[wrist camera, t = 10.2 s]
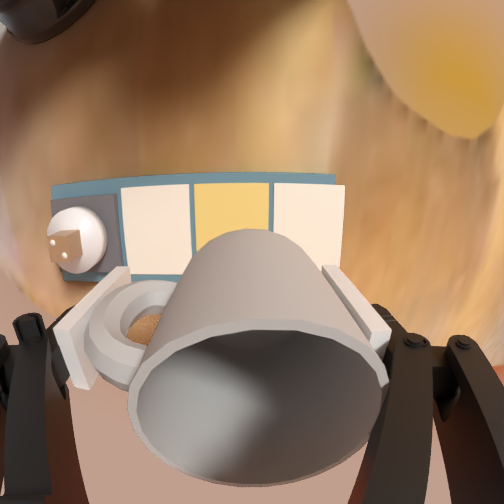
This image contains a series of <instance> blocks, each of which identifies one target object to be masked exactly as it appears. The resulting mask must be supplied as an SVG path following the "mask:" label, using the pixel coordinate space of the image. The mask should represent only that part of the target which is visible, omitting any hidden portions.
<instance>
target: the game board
mask: <svg viewBox="0 0 504 504" xmlns="http://www.w3.org/2000/svg"><path fill="white" fill-rule="evenodd" d="M51 187H52V200H51V208H52V218H53V217H54V216H55V215H56V214H57V213H58V212H60V211H62V210H65V209H68V208H71V207H75V206H84V207H87V208H89V209H91V210H93V211H94V212H95V213H96V214H97V215H98V216H99V217H100V219H101V220H102V222H103V224H104V226H105V229H106V233H107V248H106V251H105V254H104V256H103V257H102V259H101V260H100V261H99V262H98V263H97V264H95V265H94V266H93V267H92V268H90V269H89V270H88V271H86V272H83V273H79V274H75V273H70V272H68V271H66V270H64V269H62V268H61V267H60V271H61V272H62V273H63V278H64V281H90V282H100V281H101V280H103V279H104V278H105V277H106V276H107V275H108V274H109V273H110V272H111V271H112V270H113V269H114V268H116V267H117V266H129V267H130V274H131V281H132V282H137V281H144V280H164V281H171V282H177V283H178V281H179V279H180V278H181V276H182V274H183V272H184V271H185V269H186V267H187V265H188V264H189V262H190V260H191V258H192V257H193V256H194V254H195V253H196V252H198V251H199V250H200V249H201V248H202V247H203V246H204V245H205V244H206V243H207V242H209V241H210V240H212V239H214V238H216V237H218V236H220V235H222V234H224V233H226V232H231V231H236V230H241V229H265V230H268V231H271V232H274V233H277V234H280V235H283V236H285V237H287V238H288V239H290V240H291V241H293V242H294V243H296V244H297V245H299V246H300V247H301V248H302V249H303V250H304V251H305V252H306V254H307V255H308V256H309V257H310V258H311V260H312V261H313V262H314V263H315V264H316V266H317V267H318V269H319V270H320V271H321V270H322V265H336V266H337V267H338V268H339V266H340V255H341V243H342V231H343V216H344V197H345V185H335V175H333V174H314V173H283V172H218V173H186V174H166V175H150V176H136V177H124V178H113V179H103V180H94V181H85V182H77V183H69V184H61V185H55V186H51Z"/></svg>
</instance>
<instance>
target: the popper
mask: <svg viewBox="0 0 504 504" xmlns="http://www.w3.org/2000/svg"><path fill="white" fill-rule="evenodd" d="M47 243H48V248H49V252H50V258H51V262H56V263H57V264H58V265H59V266H60V267H61V268H62V269H64V270H66V271H68V272H70V273H75V274H79V273H83V272H86V271H88V270H89V269H90V268H92V267H93V266H94V265H95V264H97V263H98V262H99V261H100V260H101V259H102V257H103V256H104V254H105V251H106V248H107V233H106V229H105V226H104V224H103V222H102V220H101V219H100V217H99V216H98V215H97V214H96V213H95V212H94V211H93V210H91V209H89V208H87V207H84V206H75V207H71V208H68V209H65V210H62V211H60V212H58V213H57V214H56V215H55V216H54V217H53V218H52V220H51V222H50V224H49V227H48V231H47Z"/></svg>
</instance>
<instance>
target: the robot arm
mask: <svg viewBox="0 0 504 504" xmlns="http://www.w3.org/2000/svg"><path fill="white" fill-rule="evenodd" d="M94 1H95V0H0V21H1V22H2V23H3V24H4V25H5V26H6V28H7V31H8V32H9V34H10V35H11V36H12V37H13V38H15V39H16V40H19V41H21V42H23V43H26V44H37V43H41V42H44V41H46V40H48V39H51V38H53V37H54V36H56V35H58V34H59V33H61V32H62V31H64V30H65V29H67V28H68V27H69V26H71V25H72V24H73V23H74V22H75V21H76V20H78V19H79V18H80V17H81V16H82V15H83V14H84V13H85V12H86V11H87V10H88V8H89V7H90V6H91V5H92V4H93V3H94ZM321 273H322V274H323V276H324V277H325V278H326V280H327V281H328V283H329V284H330V286H331V287H332V288H333V290H334V291H335V293H336V294H337V296H338V297H339V298H340V300H341V301H342V303H343V304H344V306H345V307H346V309H347V310H348V311H349V313H350V314H351V316H352V317H353V319H354V320H355V322H356V323H357V325H358V326H359V328H360V329H361V331H362V332H363V334H364V335H365V337H366V338H367V340H368V341H369V343H370V344H371V346H372V347H373V349H374V350H375V352H376V353H377V355H378V356H379V358H380V359H381V361H382V363H383V364H384V366H385V369H386V372H387V376H388V379H389V383H390V386H389V389H388V391H387V394H386V397H385V400H384V402H383V405H382V407H381V410H380V413H379V415H378V417H377V420H376V422H375V425H374V427H373V429H372V432H371V434H370V437H369V440H368V444H367V448H366V451H365V454H364V458H363V461H362V464H361V467H360V470H359V474H358V476H357V479H356V482H355V485H354V488H353V491H352V494H351V496H350V499H349V501H348V504H424V501H425V496H426V489H427V482H428V475H429V466H430V456H431V443H432V425H433V423H432V422H433V419H434V422H435V426H436V430H437V434H438V438H439V442H440V446H441V450H442V455H443V459H444V464H445V469H446V474H447V479H448V484H449V490H450V496H451V502H452V504H504V386H503V384H502V383H501V381H500V380H499V378H498V376H497V374H496V373H495V371H494V369H493V368H492V366H491V364H490V363H489V361H488V360H487V358H486V356H485V355H484V353H483V352H482V350H481V349H480V347H479V346H478V344H477V343H476V342H475V341H474V340H473V339H471V338H470V337H468V336H465V335H454V336H452V337H450V338H449V340H448V343H447V346H446V347H442V346H431V345H430V342H429V341H428V340H427V339H426V338H425V337H423V336H421V335H419V334H415V333H407V332H406V330H405V329H404V328H403V327H402V326H401V325H400V324H399V323H398V321H397V320H396V319H395V318H394V317H393V316H391V314H390V313H389V311H388V310H387V309H386V308H384V307H382V306H380V305H378V304H370V303H369V302H368V301H367V300H366V299H365V297H364V296H363V295H362V294H361V293H360V292H359V291H358V289H357V288H356V287H355V286H354V285H353V284H352V282H351V281H350V280H349V279H348V278H347V277H346V276H345V275H344V273H343V272H342V271H341V270H340V269H339V268H338V267H337V266H336V265H322V270H321ZM131 282H132V281H131V274H130V267H129V266H117V267H116V268H114V269H113V270H112V271H111V272H110V273H109V274H108V275H107V276H106V277H105V278H104V279H103V280H101V281H100V282H99V283H98V284H97V285H96V286H95V287H94V288H93V289H92V290H91V291H90V292H89V293H88V294H87V295H86V296H85V297H84V298H83V299H82V300H81V301H79V302H78V303H77V304H76V305H74V306H72V307H70V308H69V309H67V310H65V311H64V312H63V313H62V314H61V315H60V317H58V318H57V319H56V321H54V322H53V323H52V324H51V325H50V326H49V327H48V328H47V329H45V326H44V322H43V319H42V316H41V315H40V314H39V313H28V314H24V315H21V316H19V317H18V318H16V319H15V320H14V322H13V326H14V329H15V332H16V335H17V338H18V340H19V345H8V343H7V341H6V338H5V336H3V335H1V334H0V493H1V488H2V482H3V478H4V485H5V493H4V495H3V496H0V504H89V502H88V498H87V494H86V490H85V486H84V482H83V479H82V474H81V470H80V465H79V460H78V455H77V450H76V444H75V438H74V431H73V424H72V417H71V409H70V398H69V390H68V387H67V385H66V381H67V379H68V378H69V376H70V378H71V380H72V383H73V385H74V387H76V388H81V389H85V390H91V388H92V386H93V385H94V383H95V381H96V379H97V377H98V376H99V373H98V371H97V370H96V369H95V367H94V366H93V364H92V362H91V361H90V359H89V358H88V356H87V354H86V353H85V351H84V332H85V330H86V327H87V324H88V322H89V319H90V317H91V315H92V313H93V311H94V309H95V307H96V306H97V305H98V303H99V302H100V301H101V300H102V299H103V298H104V297H105V296H106V295H107V294H109V293H110V292H112V291H113V290H115V289H116V288H118V287H121V286H123V285H126V284H129V283H131Z"/></svg>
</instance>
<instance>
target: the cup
mask: <svg viewBox="0 0 504 504" xmlns="http://www.w3.org/2000/svg"><path fill="white" fill-rule="evenodd" d="M150 314H162V316H161V318H160V320H159V322H158V325H157V327H156V329H155V332H154V334H153V337H152V338H151V340H150V342H149V344H148V346H147V345H143V344H139V343H136V342H132V341H131V340H129V339H127V332H128V330H129V328H130V327H131V326H132V325H133V324H134V323H135V322H136V321H137V320H139V319H141V318H142V317H144V316H147V315H150ZM84 351H85V353H86V354H87V356H88V358H89V359H90V361H91V362H92V364H93V366H94V367H95V369H96V370H97V371H98V373H99V374H100V375H101V376H102V378H103V379H105V380H106V381H108V382H109V383H111V384H113V385H114V386H116V387H118V388H119V389H121V390H124V391H128V392H129V394H128V404H127V410H128V413H129V417H130V420H131V423H132V426H133V429H134V431H135V432H136V434H137V435H138V437H139V438H140V439H141V441H142V442H143V443H144V445H145V446H146V447H147V449H149V450H150V451H151V452H152V453H153V454H155V455H156V456H157V457H158V458H159V459H161V460H162V461H163V462H164V463H166V464H167V465H169V466H171V467H174V468H175V469H177V470H179V471H181V472H183V473H185V474H187V475H189V476H192V477H195V478H198V479H201V480H204V481H208V482H211V483H215V484H222V485H228V486H237V487H268V486H276V485H282V484H288V483H294V482H297V481H300V480H304V479H307V478H310V477H313V476H316V475H319V474H321V473H323V472H325V471H327V470H329V469H331V468H333V467H335V466H337V465H338V464H341V463H342V462H344V461H345V460H347V459H348V458H349V457H351V456H352V455H353V454H355V453H356V452H357V451H359V450H360V449H361V448H362V447H363V446H364V445H365V444H366V443H367V442H368V440H369V437H370V434H371V432H372V429H373V427H374V425H375V422H376V420H377V417H378V415H379V413H380V410H381V407H382V405H383V402H384V400H385V397H386V394H387V391H388V389H389V386H390V383H389V379H388V376H387V372H386V369H385V366H384V364H383V363H382V361H381V359H380V358H379V356H378V355H377V353H376V352H375V350H374V349H373V347H372V346H371V344H370V343H369V341H368V340H367V338H366V337H365V335H364V334H363V332H362V331H361V329H360V328H359V326H358V325H357V323H356V322H355V320H354V319H353V317H352V316H351V314H350V313H349V311H348V310H347V309H346V307H345V306H344V304H343V303H342V301H341V300H340V298H339V297H338V296H337V294H336V293H335V291H334V290H333V288H332V287H331V286H330V284H329V283H328V281H327V280H326V278H325V277H324V276H323V274H322V273H321V271H320V270H319V269H318V267H317V266H316V264H315V263H314V262H313V261H312V260H311V258H310V257H309V256H308V255H307V254H306V252H305V251H304V250H303V249H302V248H301V247H300V246H299V245H297V244H296V243H294V242H293V241H291V240H290V239H288V238H287V237H285V236H283V235H280V234H277V233H274V232H271V231H268V230H265V229H241V230H236V231H231V232H226V233H224V234H222V235H220V236H218V237H216V238H214V239H212V240H210V241H209V242H207V243H206V244H205V245H204V246H203V247H202V248H201V249H200V250H199V251H198V252H196V253H195V254H194V256H193V257H192V258H191V260H190V262H189V264H188V265H187V267H186V269H185V271H184V272H183V274H182V276H181V278H180V279H179V281H178V283H177V282H171V281H164V280H144V281H137V282H131V283H129V284H126V285H123V286H121V287H118V288H116V289H115V290H113V291H112V292H110V293H109V294H107V295H106V296H105V297H104V298H103V299H102V300H101V301H100V302H99V303H98V305H97V306H96V307H95V309H94V311H93V313H92V315H91V317H90V319H89V322H88V324H87V327H86V330H85V332H84Z"/></svg>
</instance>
